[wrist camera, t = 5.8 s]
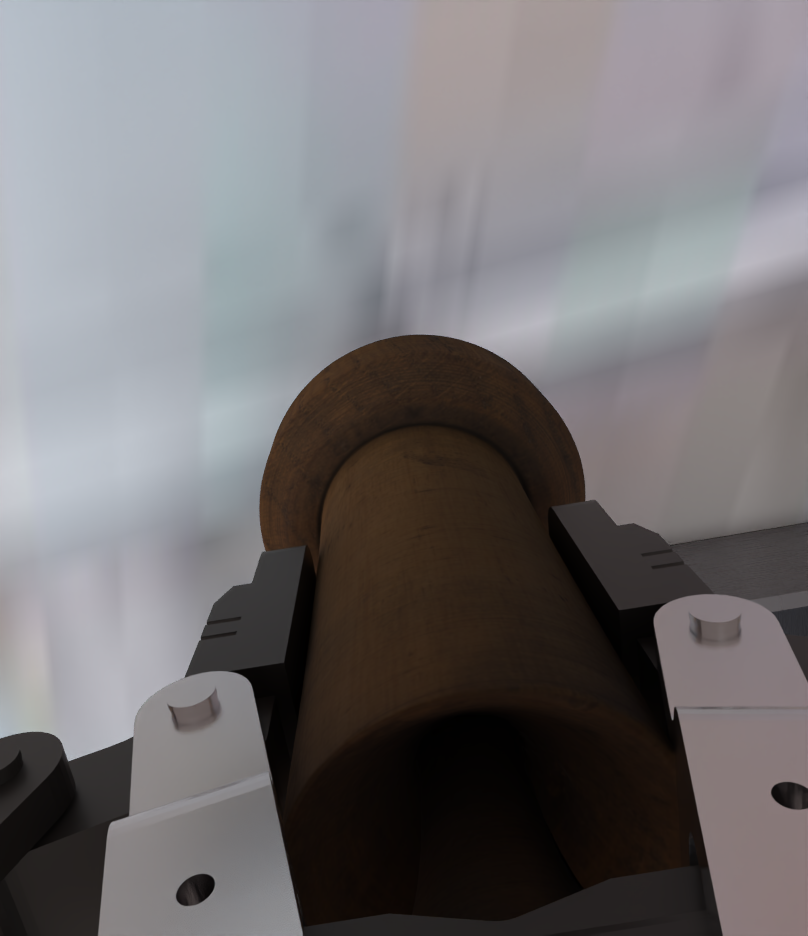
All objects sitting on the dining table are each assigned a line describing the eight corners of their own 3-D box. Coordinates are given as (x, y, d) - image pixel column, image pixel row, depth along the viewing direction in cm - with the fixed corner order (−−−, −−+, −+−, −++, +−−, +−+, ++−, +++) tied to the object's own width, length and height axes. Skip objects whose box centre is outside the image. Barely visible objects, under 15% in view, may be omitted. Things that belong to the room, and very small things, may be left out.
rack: (979, 494, 31) (1092, 543, 26) (958, 733, 35) (1055, 814, 30) (320, 603, 31) (314, 672, 26) (367, 833, 34) (369, 931, 29)
